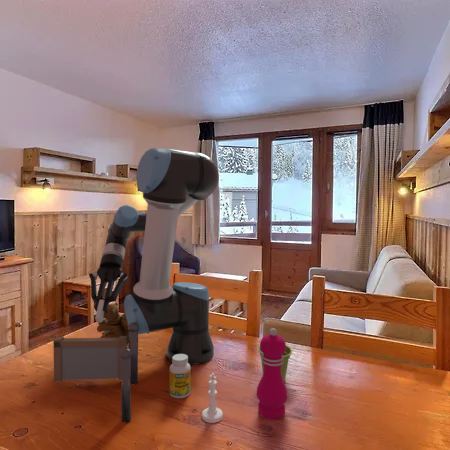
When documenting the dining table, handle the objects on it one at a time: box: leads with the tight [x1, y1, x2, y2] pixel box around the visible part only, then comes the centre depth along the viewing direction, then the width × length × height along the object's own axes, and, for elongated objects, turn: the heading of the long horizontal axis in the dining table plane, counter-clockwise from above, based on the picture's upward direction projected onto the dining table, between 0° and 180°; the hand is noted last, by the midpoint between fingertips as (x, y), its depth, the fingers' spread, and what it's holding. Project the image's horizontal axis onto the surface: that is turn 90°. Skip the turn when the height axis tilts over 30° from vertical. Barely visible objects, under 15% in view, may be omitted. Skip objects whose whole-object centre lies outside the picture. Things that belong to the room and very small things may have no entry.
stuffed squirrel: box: [96, 302, 129, 341], centre depth 121 cm, size 10×14×13 cm
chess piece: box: [201, 372, 224, 424], centre depth 78 cm, size 5×5×10 cm
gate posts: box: [120, 322, 139, 424], centre depth 84 cm, size 4×19×17 cm, turn 4°
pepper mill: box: [256, 327, 288, 421], centre depth 79 cm, size 7×7×20 cm
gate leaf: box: [53, 336, 128, 383], centre depth 91 cm, size 19×2×11 cm, turn 94°
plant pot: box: [257, 345, 293, 382], centre depth 95 cm, size 9×9×9 cm
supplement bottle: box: [169, 354, 192, 399], centre depth 87 cm, size 5×5×10 cm
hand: (98, 320), depth 105 cm, fingers closed
